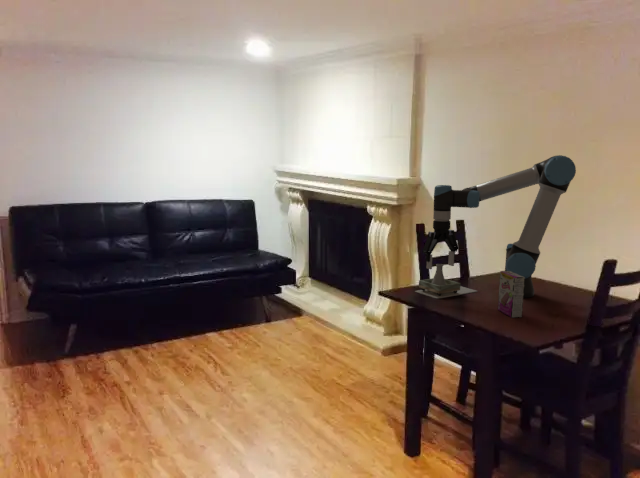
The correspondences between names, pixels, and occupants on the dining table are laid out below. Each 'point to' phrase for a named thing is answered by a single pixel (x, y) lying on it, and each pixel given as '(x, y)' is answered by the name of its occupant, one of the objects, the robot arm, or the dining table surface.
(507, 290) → the candy bar box
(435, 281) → the flask
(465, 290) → the mat
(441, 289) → the square tray
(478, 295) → the dining table surface
